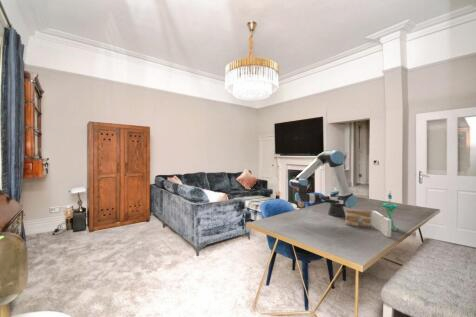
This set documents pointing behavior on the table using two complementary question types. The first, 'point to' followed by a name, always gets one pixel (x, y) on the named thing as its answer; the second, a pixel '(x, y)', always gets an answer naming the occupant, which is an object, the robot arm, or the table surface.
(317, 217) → the table surface
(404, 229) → the table surface
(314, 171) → the robot arm
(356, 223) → the tan faceted tapered block
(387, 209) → the hanging basket ornament
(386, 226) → the cream slotted board
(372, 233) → the table surface
